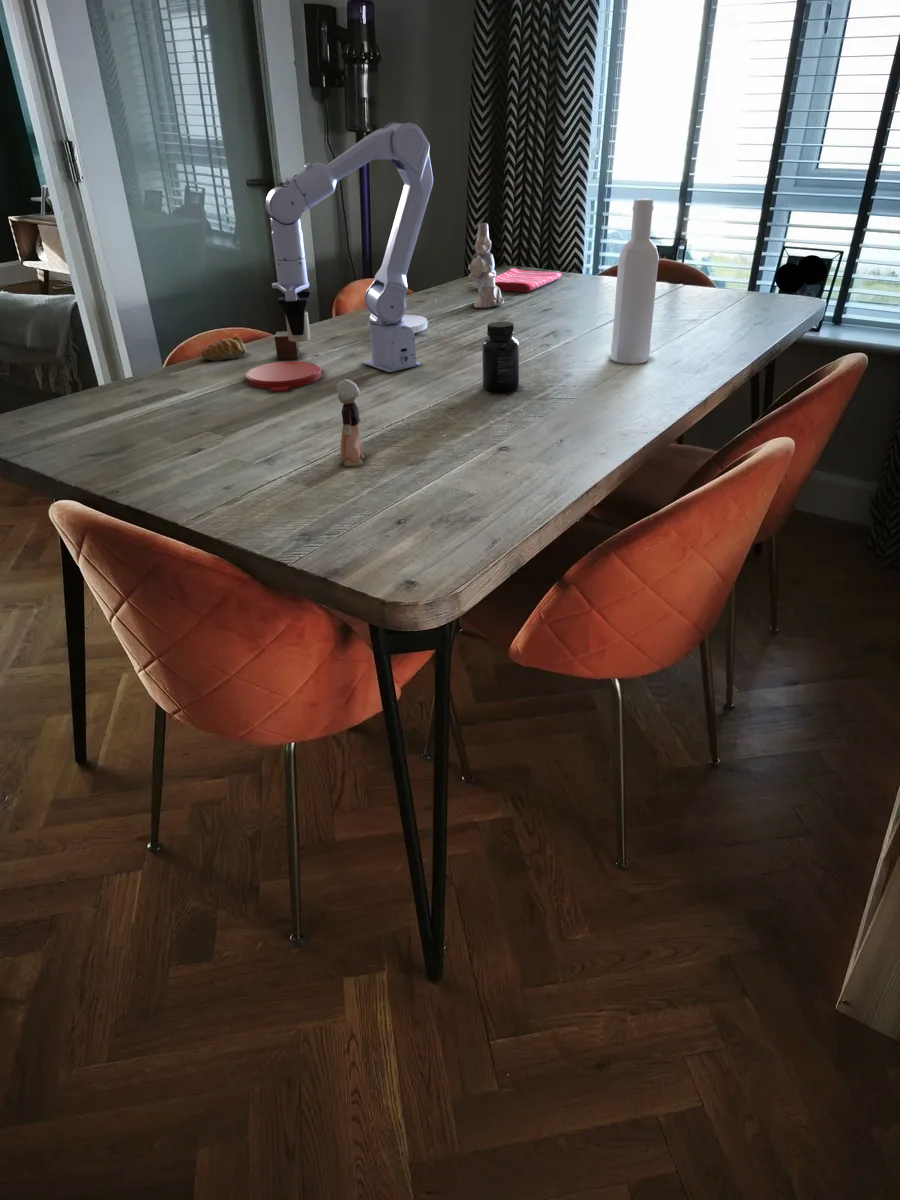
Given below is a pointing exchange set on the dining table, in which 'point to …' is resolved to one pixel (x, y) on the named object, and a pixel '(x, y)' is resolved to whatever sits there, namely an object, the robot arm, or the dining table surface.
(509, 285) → the dish towel
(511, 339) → the supplement bottle
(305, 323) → the spice pot
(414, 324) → the plastic lid
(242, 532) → the dining table surface
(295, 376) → the red lid
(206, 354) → the pastry
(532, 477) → the dining table surface
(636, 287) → the bottle
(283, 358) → the walnut block
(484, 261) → the figurine
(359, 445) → the grandmother figurine
